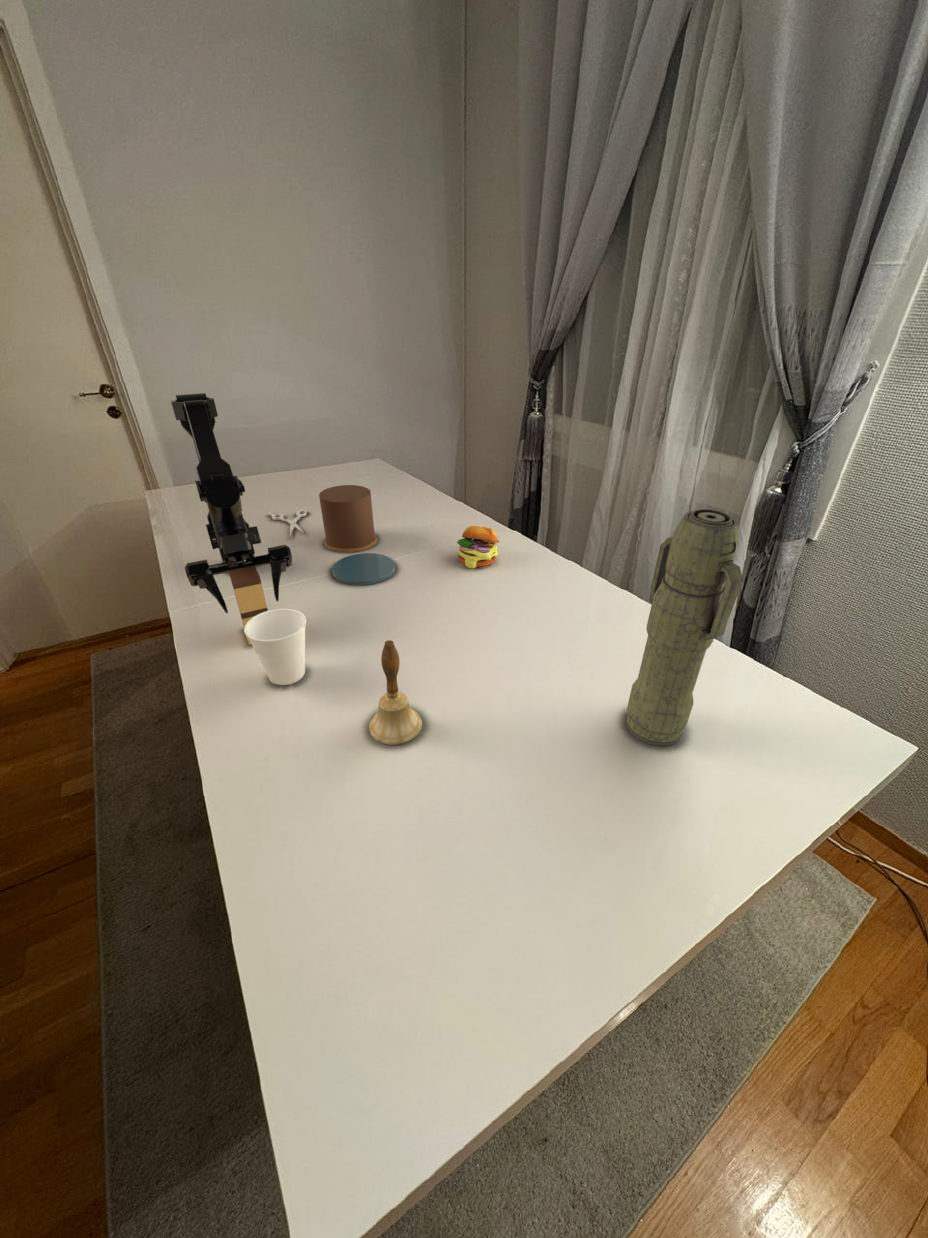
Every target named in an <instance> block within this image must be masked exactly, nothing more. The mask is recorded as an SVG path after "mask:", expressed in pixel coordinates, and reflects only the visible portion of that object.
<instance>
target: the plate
mask: <svg viewBox="0 0 928 1238" xmlns="http://www.w3.org/2000/svg"><path fill="white" fill-rule="evenodd" d="M395 570H396V564H395V561H394V560H393V559H392V558H391V557H389V556H387V555H384V554H382V553H381V554H380V553H375V552H374V553H373V552H362V553H356V554H351V555H347V556H345V557H342V558H341V559H339V560H337V561H336V562H335V563H334V564H333V566H332V569H331V572H332V576H333V577H334V579H335V580H337V582H340V583H343V584H346V585H352V586H364V585H365V586H367V585H373V584H377V583H381V582H383V581H385V580H387V579H388V578H390V577H392V575H394V573H395Z"/></svg>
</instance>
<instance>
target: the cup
mask: <svg viewBox="0 0 928 1238" xmlns="http://www.w3.org/2000/svg"><path fill="white" fill-rule="evenodd" d="M306 625H307V617H306V616H305V614H304V613H303V612H301V611H299V610H298V609H297V610H296V609H292V608H274V609H268V611H266V612H263V613H260V614H258V615H256V616H254V617H253V618H252V619H250V620H249V621H248V622H247V624H246V625H245V628H244V627H243V631H244V635H245V636H246V638H247V637H248V638H249V640H250V642H251V644H252V645H251V646H252V648H253V650H254V652H255V654H256V655H257V657H258V660H259V661H260V664H261V665H262V667H263V670H264V671H265V674H266V676H267V677H268V680H269V681H270V682H271V683H272V684H275V685H278V686H289V685H292V684H294V683H297V682H299V681H300V680H301V679H302V678H303V677H304V676H305V673H306Z"/></svg>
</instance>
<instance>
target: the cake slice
mask: <svg viewBox="0 0 928 1238" xmlns="http://www.w3.org/2000/svg"><path fill="white" fill-rule="evenodd" d="M228 574H229V578H230V582H231V585H232V590H233V592H234V596H235V600H236V604H237V607H238V611H239V615H240V619H241V622H242V626H243V629H244V628H245V625H246V624H247V622H248V621H249V620H250V619H252V618H253V617H254V616H256V615H258V614H260V613H263V612H266V611H269V609H268V603H267V600H266V596H265V591H264V587H263V583H262V579H261V576H260V574H259V571H258V569H257V567H256V566H250V567H245V568H240V569H235V570H230V571H229V572H228ZM246 639H247V643H248V646H252V644H251V642H250V640H249V638H248V637H247V636H246Z"/></svg>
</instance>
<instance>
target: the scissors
mask: <svg viewBox="0 0 928 1238" xmlns="http://www.w3.org/2000/svg"><path fill="white" fill-rule="evenodd" d="M307 514H308V512H307V510H306V509H301V510H297V511H296V512H295V516H296V517H294V518H292V519H289V518H285V515H284V513H283V514H282V513H272V512H268V516H269V517H271V519H272V520H274V521H282V522H286V523H288V524H289V525H290V526H289V537H291V535H292V533H293V530H294V529H297V530H298V531H300V532H301V533H303V534H305V532H304V531H303V529H302V528H301V527H300V526H299V525H298V524H297V522H298V520H300V519H301V518H303V517H305V516H307Z"/></svg>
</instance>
